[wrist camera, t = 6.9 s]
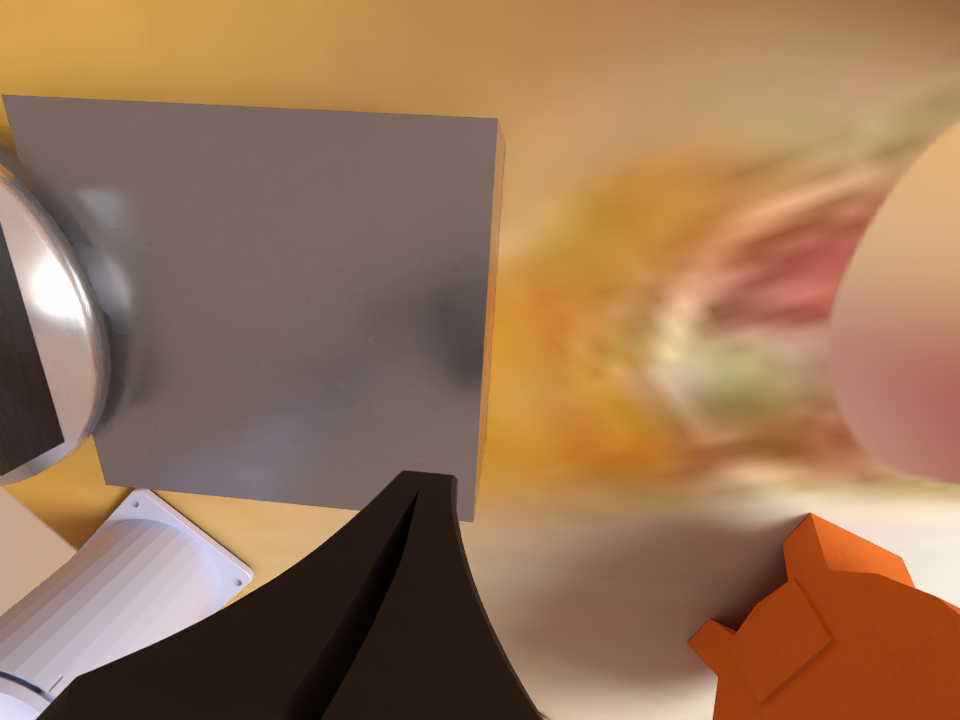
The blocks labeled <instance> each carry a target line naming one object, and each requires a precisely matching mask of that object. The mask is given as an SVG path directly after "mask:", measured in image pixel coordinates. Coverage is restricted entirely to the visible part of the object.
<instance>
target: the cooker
mask: <svg viewBox="0 0 960 720" xmlns="http://www.w3.org/2000/svg"><path fill="white" fill-rule="evenodd" d="M2 98H3V102H4V106H5V109H6V113H7V117H8V120H9V124H10V128H8V127H0V164H1V165H3V166H4V167H5V168H6V169H7V170H9V171H10V172H11V173H12V174H13V175H14V176H15V177H16V178H17V179H18V180H19V181H20V182H21V183H22V184H23V185H24V186H25V187H26V188H27V189H28V190H29V191H30V192H31V193H32V194H33V195H34V196H35V197H36V199H37V200H38V201H39V202H40V203H41V205H42V206H43V207H44V208H45V210H46V211H47V212H48V213H49V214H50V216H51V217H52V218H53V219H54V220H55V222H56V223H57V225H58V226H59V228H60V229H61V231H62V232H63V233H64V235H65V236H66V238H67V239H68V241H69V242H70V244H71V245H72V247H73V248H74V250H75V252H76V254H77V256H78V258H79V259H80V261H81V263H82V265H83V267H84V269H85V270H86V272H87V274H88V276H89V279H90V281H91V284H92V286H93V288H94V291H95V293H96V295H97V298H98V300H99V304H100V307H101V310H102V314H103V317H104V320H105V324H106V329H107V335H108V340H109V346H110V362H111V375H110V384H109V393H108V396H107V400H106V404H105V407H104V411H103V413H102V415H101V417H100V419H99V421H98V423H97V425H96V427H95V429H94V430H93V432H92V434H93V438H94V441H95V445H96V449H97V453H98V456H99V460H100V464H101V468H102V471H103V475H104V479H105V482H106V485H114V486H123V487H133V488H143V489H153V490H163V491H172V492H182V493H192V494H202V495H212V496H221V497H231V498H241V499H251V500H261V501H270V502H280V503H290V504H300V505H310V506H319V507H329V508H339V509H349V510H358V511H361V510H362V509H363V508H365V507H366V506H367V505H368V504H369V503H370V502H371V501H372V500H373V499H374V498H375V497H376V496H377V495H378V494H379V493H380V492H381V491H382V490H383V489H384V488H385V487H386V486H387V485H388V484H389V483H390V482H391V481H392V480H393V479H394V478H395V477H396V476H397V475H398V474H399V473H400V472H402V471H403V470H408V471H418V472H428V473H439V474H449V475H454V476H455V477H456V478H457V479H458V487H457V517H458V521H466V522H473V521H474V515H475V508H476V501H477V494H478V487H479V480H480V473H481V467H482V460H483V453H484V446H485V439H486V424H487V409H488V394H489V379H490V364H491V349H492V334H493V319H494V304H495V290H496V275H497V260H498V245H499V230H500V215H501V200H502V185H503V170H504V155H505V140H504V137H503V134H502V131H501V127H500V124H499V121H498V119H493V118H472V117H451V116H431V115H410V114H389V113H369V112H348V111H327V110H306V109H286V108H265V107H244V106H224V105H203V104H182V103H161V102H141V101H120V100H99V99H79V98H58V97H37V96H16V95H2Z"/></svg>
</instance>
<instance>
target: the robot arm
mask: <svg viewBox="0 0 960 720" xmlns="http://www.w3.org/2000/svg"><path fill="white" fill-rule="evenodd" d="M457 487H458V479H457V478H456V477H455V476H454V475H449V474H439V473H428V472H418V471H408V470H403V471H402V472H400V473H399V474H398V475H397V476H396V477H395V478H394V479H393V480H392V481H391V482H390V483H389V484H388V485H387V486H386V487H385V488H384V489H383V490H382V491H381V492H380V493H379V494H378V495H377V496H376V497H375V498H374V499H373V500H372V501H371V502H370V503H369V504H368V505H367V506H366V507H365V508H363V509H362V510H361V511H360V512H359V513H358V514H357V515H356V516H355V517H354V518H353V519H351V520H350V521H349V522H348V523H347V524H346V525H345V526H343V527H342V528H341V529H340V530H339V531H337V532H336V533H335V534H334V535H333V536H331V537H330V538H329V539H328V540H327V541H325V542H324V543H323V544H322V545H320V546H319V547H318V548H317V549H315V550H314V551H313V552H311V553H310V554H309V555H307V556H306V557H305V558H303V559H302V560H301V561H299V562H298V563H296V564H295V565H294V566H292V567H291V568H289V569H288V570H286V571H285V572H283V573H282V574H280V575H279V576H277V577H276V578H274V579H273V580H271V581H269V582H268V583H266V584H264V585H263V586H261V587H259V588H258V589H256V590H254V591H253V592H251V593H249V594H248V595H246V596H244V597H243V598H241V599H239V600H238V601H236V602H234V603H233V604H231V605H229V606H227V607H226V608H224V609H222V610H220V611H218V612H216V611H217V610H218V609H220V608H221V607H222V606H223V605H224V604H225V603H227V602H228V601H229V600H230V599H231V598H232V597H234V596H235V595H236V594H237V593H238V592H239V591H241V590H242V589H243V588H244V587H245V586H247V585H248V584H249V583H250V582H251V580H252V579H253V577H254V572H253V570H252V569H251V568H249V567H248V566H247V565H246V564H244V563H243V562H242V561H240V560H239V559H238V558H237V557H235V556H234V555H233V554H231V553H230V552H229V551H228V550H226V549H225V548H224V547H222V546H221V545H220V544H219V543H217V542H216V541H215V540H213V539H212V538H211V537H210V536H208V535H207V534H206V533H204V532H203V531H202V530H201V529H199V528H198V527H197V526H195V525H194V524H193V523H192V522H190V521H189V520H188V519H186V518H185V517H184V516H183V515H181V514H180V513H179V512H177V511H176V510H175V509H174V508H172V507H171V506H170V505H168V504H167V503H166V502H165V501H163V500H162V499H161V498H159V497H158V496H157V495H156V494H154V493H153V492H152V491H150V490H149V489H143V488H136V489H135V490H133V491H132V492H131V493H130V494H129V495H128V496H127V498H126V499H125V500H124V501H123V502H122V503H121V504H120V505H119V506H118V507H117V509H116V510H115V511H114V512H113V513H112V514H111V515H110V516H109V517H108V518H107V520H106V521H105V522H104V523H103V524H102V525H101V526H100V527H99V528H98V530H97V531H96V532H95V533H94V534H93V535H92V536H91V537H90V538H89V539H88V541H87V542H86V543H85V544H84V545H83V546H82V547H81V548H80V549H79V550H78V552H77V553H76V554H75V555H74V556H73V557H72V558H71V559H70V561H68V562H67V563H66V564H65V565H63V566H62V567H61V568H60V569H59V570H57V571H56V572H55V573H54V574H52V575H51V576H50V577H49V578H47V579H46V580H45V581H44V582H43V583H41V584H40V585H39V586H38V587H36V588H35V589H34V590H33V591H31V592H30V593H29V594H28V595H26V596H25V597H24V598H23V599H22V600H20V601H19V602H18V603H17V604H16V605H14V606H13V607H12V608H11V609H9V610H8V611H7V612H6V613H4V614H3V615H2V616H1V617H0V720H544V719H543V718H542V716H541V715H540V713H539V712H538V710H537V708H536V707H535V705H534V703H533V702H532V700H531V699H530V697H529V695H528V694H527V692H526V690H525V689H524V687H523V685H522V683H521V681H520V680H519V678H518V676H517V674H516V673H515V671H514V669H513V667H512V665H511V664H510V662H509V660H508V658H507V656H506V654H505V652H504V650H503V648H502V645H501V643H500V641H499V639H498V637H497V635H496V633H495V631H494V629H493V627H492V625H491V623H490V621H489V618H488V616H487V614H486V611H485V609H484V606H483V604H482V602H481V599H480V596H479V594H478V591H477V588H476V586H475V583H474V580H473V577H472V574H471V571H470V568H469V564H468V561H467V557H466V554H465V550H464V546H463V542H462V538H461V533H460V528H459V523H458V517H457ZM215 612H216V613H215Z"/></svg>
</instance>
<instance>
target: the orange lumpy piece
mask: <svg viewBox="0 0 960 720" xmlns="http://www.w3.org/2000/svg"><path fill="white" fill-rule="evenodd" d="M782 544H783V551H784V557H785V564H786V570H787V576H788V582H787V583H785V584H784V585H783V586H781V587H780V588H778V589H777V590H776V591H774V592H773V593H771V594H770V595H769V596H767V597H766V598H764V599H763V600H762V601H760V602H759V603H757V604H756V606H755V607H754V609H753V610H752V611H751V613H750V614H749V615H748V617H747V618H746V620H745V621H744V622H743V624H742V625H741V627H740V628H739V629H738V631H735V630H733V629H731V628H729V627H726V626H724V625H722V624H720V623H718V622H716V621H713V620H711V619H709V620H708V621H707V622H706V623H705V624H704V625H703V627H702V628H701V629H700V630H699V631H698V632H697V633H696V634H695V635H694V636H693V637H692V638H691V639H690V641H689V642H688V644H689V646H690V647H691V648H692V649H693V650H694V651H695V652H696V653H697V654H698V655H699V656H700V657H701V658H702V660H703V661H704V662H705V663H706V664H707V665H708V666H709V667H710V668H711V669H712V670H713V671H714V673H715V674H716V675H717V676H718V683H717V691H716V698H715V706H714V713H713V720H960V608H958V607H956V606H954V605H952V604H950V603H948V602H946V601H944V600H942V599H940V598H938V597H936V596H933V595H931V594H928V593H926V592H923V591H921V590H918V589H915V586H914V584H913V582H912V580H911V577H910V575H909V573H908V570H907V568H906V566H905V563H904V561H903V559H902V558H901V557H899V556H897V555H895V554H893V553H891V552H889V551H887V550H885V549H883V548H881V547H879V546H877V545H875V544H873V543H871V542H869V541H867V540H865V539H863V538H861V537H859V536H857V535H855V534H853V533H851V532H848V531H846V530H844V529H842V528H840V527H838V526H836V525H834V524H832V523H830V522H828V521H826V520H824V519H822V518H820V517H818V516H816V515H814V514H812V513H810V514H809V515H808V516H807V517H806V519H805V520H804V521H803V522H802V523H801V524H800V525H799V526H798V527H797V528H796V529H795V530H794V531H793V532H792V533H791V534H790V535H789V536H788V537H787V538H786V540H785V541H784V542H783V543H782Z"/></svg>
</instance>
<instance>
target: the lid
mask: <svg viewBox="0 0 960 720" xmlns="http://www.w3.org/2000/svg"><path fill="white" fill-rule="evenodd" d="M110 375H111V362H110V346H109V340H108V335H107V329H106V324H105V320H104V317H103V314H102V310H101V307H100V304H99V300H98V298H97V295H96V293H95V291H94V288H93V286H92V284H91V281H90V279H89V276H88V274H87V272H86V270H85V269H84V267H83V265H82V263H81V261H80V259H79V258H78V256H77V254H76V252H75V250H74V248H73V247H72V245H71V244H70V242H69V241H68V239H67V238H66V236H65V235H64V233H63V232H62V231H61V229H60V228H59V226H58V225H57V223H56V222H55V220H54V219H53V218H52V217H51V216H50V214H49V213H48V212H47V211H46V210H45V208H44V207H43V206H42V205H41V203H40V202H39V201H38V200H37V199H36V197H35V196H34V195H33V194H32V193H31V192H30V191H29V190H28V189H27V188H26V187H25V186H24V185H23V184H22V183H21V182H20V181H19V180H18V179H17V178H16V177H15V176H14V175H13V174H12V173H11V172H10V171H9V170H7V169H6V168H5V167H4V166H3V165H1V164H0V486H2V485H6V484H11V483H15V482H19V481H22V480H25V479H27V478H29V477H32V476H34V475H37V474H39V473H40V472H42V471H44V470H45V469H47V468H49V467H51V466H52V465H54V464H56V463H58V462H59V461H61V460H62V459H64V458H66V457H67V456H69V455H70V454H72V453H73V452H74V451H75V450H77V449H78V448H79V447H80V446H81V445H82V444H83V443H84V442H85V441H86V440H87V438H88V437H89V436H90V434H91V433H92V432H93V430H94V429H95V427H96V425H97V423H98V421H99V419H100V417H101V415H102V413H103V411H104V407H105V404H106V400H107V396H108V393H109V384H110Z"/></svg>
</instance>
